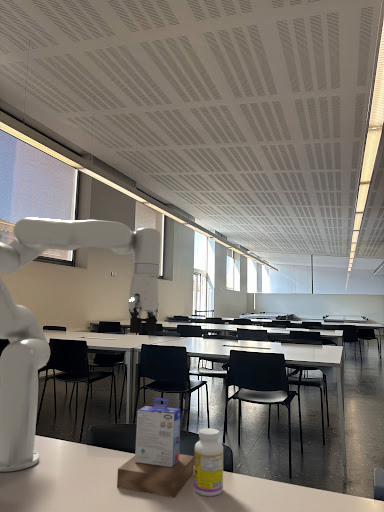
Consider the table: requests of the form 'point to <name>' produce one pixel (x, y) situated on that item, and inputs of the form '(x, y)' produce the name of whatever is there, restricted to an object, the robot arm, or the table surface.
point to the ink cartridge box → (158, 434)
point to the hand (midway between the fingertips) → (143, 332)
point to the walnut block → (156, 476)
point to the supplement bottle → (208, 463)
